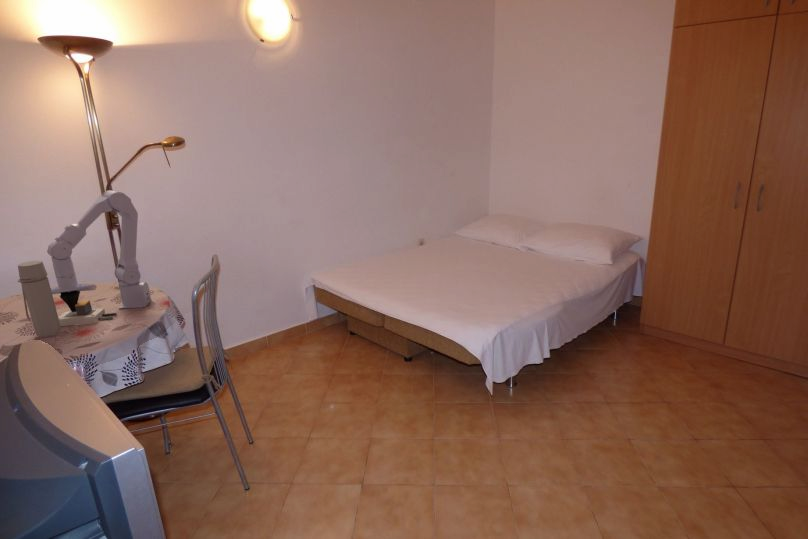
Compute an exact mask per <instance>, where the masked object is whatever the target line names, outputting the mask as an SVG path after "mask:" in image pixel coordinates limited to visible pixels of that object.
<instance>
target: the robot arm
mask: <svg viewBox="0 0 808 539" xmlns="http://www.w3.org/2000/svg"><path fill="white" fill-rule="evenodd" d="M113 211H115V213H116V214H118V215H119V216H120V217H121V232H120V233H121V234H120V253H119V254H120V255H119V256H120V257H119V259H118V261H117V265H116V268H115V270H114V276H115V278H116V279H117V280H118V289H119V291H120V293H119V294H120V297H121V302H122V305H120V306H119V308H118V309H119V310H124V309H135V308H146V305H147V306H148V305H149V304H150V303H151V302H152V301H153V299H152V297H151V293H150V287H149V284H148V282H146V281H141V277H142V276H141V272H140V270H139V264H138V261H137V237H138V217H139V215H138V214H139V213H138V211H137V209H136V208H135V205H134V204H133V203H132V198H130V197H129V196H128V195H126V194H125V192H121V191H114V190H112V189H111V190H106V191H104V192H103V193H102V195H100V196H99V197H98V198H97V199H96V200H95V201H94V203H93V204H91V206H90V207H89V208H88V209H87V211H86V212H85V213H84V214H83V215H82V216H81V218H80V219H79V220H78V222H76V223H71V224H70V225H66V226H65V227H64V228H63V229H64V231H63V232H62V233H61V234H60V235H59V236H58V237H55V238H54V241H53V242H51V243H49V245H47V246H48V247H47V250H46V252H47V254H48V256H50V257H51V262H52V267H53V268H52V269H53V271H54V275H55V279H56V283H57V286H55V287H50V288H51V292H52V295H58V294H60V295H59V298H60V299H61V300H62V301H63V302H64V303H65V304H66V305H67V307H68V308H69V310H70V311H71V312H76V308H75V305H76V304H77V303H79V297H80V293H81V292H85V291H93V290H94V284H93V283H87V284H86V283H78V280H77V275H76V272H75V267H74V263H73V261H72V257H71V256H72V254H73V249H75V248H76V246H77V245H78V244H79V243H80V242H81V241H82V240H83V239H84V238H85V237H86V236H87V229H88V228H89V227H90V226H92V224H93V223H94V222H95V221H96V220H97V219H98V218H99V217H100V216H102V214H104V213H109V212H113Z"/></svg>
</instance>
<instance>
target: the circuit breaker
mask: <svg viewBox="0 0 808 539" xmlns="http://www.w3.org/2000/svg"><path fill="white" fill-rule="evenodd" d="M102 314H106V310H105V308H93V309H92V311H90V312H89V313H88V314H87V315H77V312H71V310H70V311H65V312H63V313H61V315H58V319H59V322H60V326H61V327H66V326H79V325H89V324H90V325H91V324H97V323H98V322H99V321H100V320H99V319H98V318H99V317H103V316H102Z"/></svg>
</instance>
